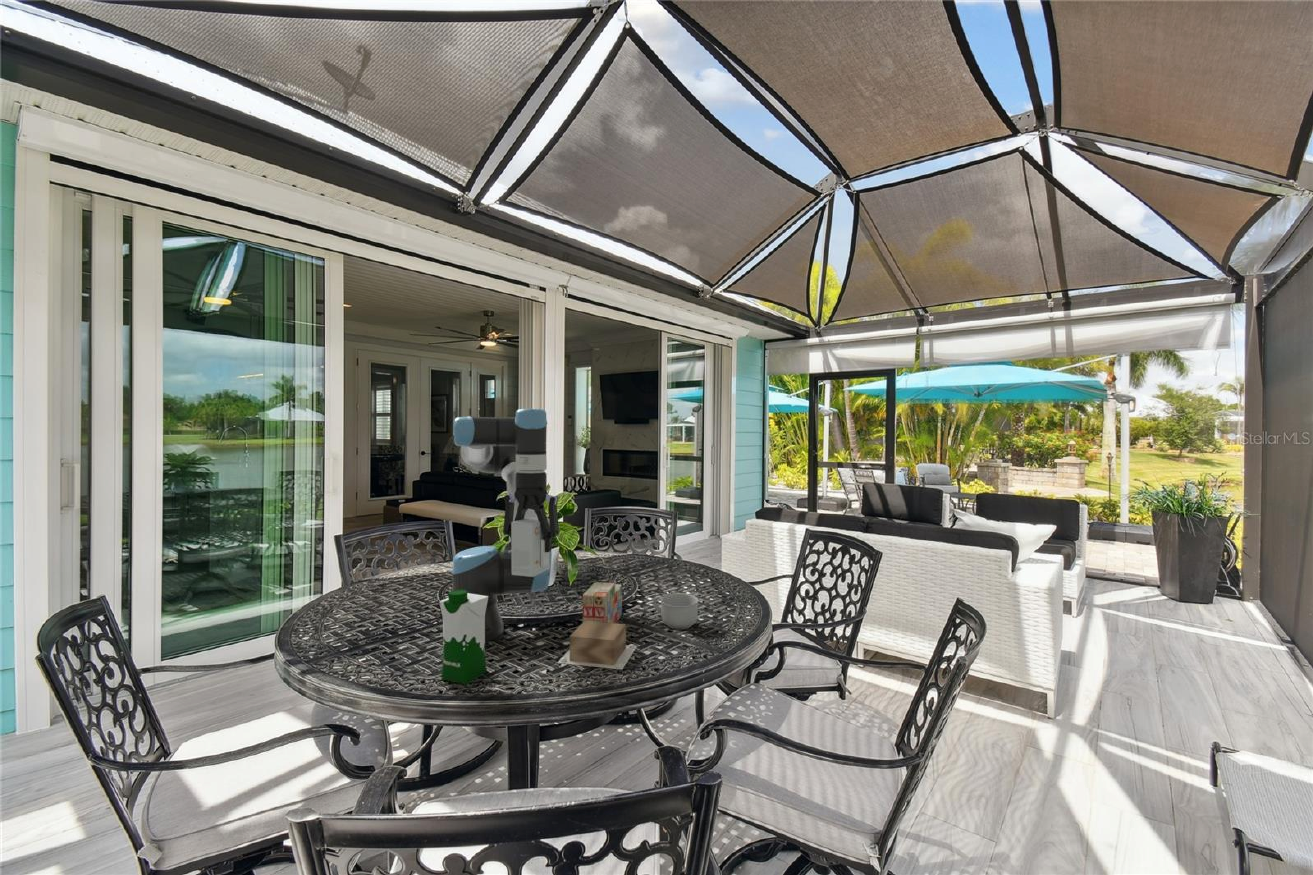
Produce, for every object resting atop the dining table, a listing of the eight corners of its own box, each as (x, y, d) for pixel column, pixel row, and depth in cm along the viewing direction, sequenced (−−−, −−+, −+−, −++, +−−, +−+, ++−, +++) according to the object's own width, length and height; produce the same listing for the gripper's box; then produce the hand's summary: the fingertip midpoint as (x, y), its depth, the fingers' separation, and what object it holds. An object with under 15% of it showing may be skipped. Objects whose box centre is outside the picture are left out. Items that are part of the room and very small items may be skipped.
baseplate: (557, 667, 139) (557, 660, 139) (577, 645, 153) (577, 638, 153) (622, 674, 136) (622, 666, 136) (636, 651, 149) (636, 644, 149)
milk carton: (435, 680, 132) (435, 592, 131) (463, 664, 140) (463, 582, 139) (466, 687, 128) (465, 597, 128) (493, 671, 137) (493, 586, 136)
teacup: (705, 626, 168) (705, 598, 168) (681, 636, 160) (681, 607, 160) (668, 614, 177) (668, 588, 177) (644, 624, 169) (644, 596, 169)
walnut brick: (569, 661, 140) (569, 636, 140) (584, 643, 151) (584, 620, 150) (613, 665, 138) (613, 640, 137) (626, 647, 148) (626, 624, 148)
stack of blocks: (602, 613, 178) (602, 573, 178) (622, 614, 177) (622, 574, 177) (582, 639, 157) (582, 594, 157) (604, 641, 156) (605, 595, 156)
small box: (528, 567, 150) (528, 516, 149) (550, 569, 148) (550, 518, 147) (510, 575, 142) (510, 521, 142) (533, 577, 140) (533, 523, 140)
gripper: (487, 471, 143) (487, 565, 143) (562, 473, 138) (561, 570, 139) (502, 469, 150) (502, 558, 151) (573, 471, 146) (573, 563, 146)
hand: (531, 564), depth 145 cm, fingers closed on small box, 7 cm apart
